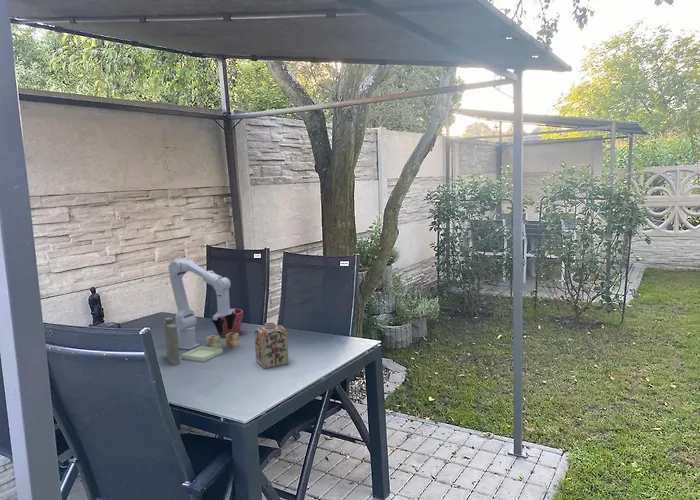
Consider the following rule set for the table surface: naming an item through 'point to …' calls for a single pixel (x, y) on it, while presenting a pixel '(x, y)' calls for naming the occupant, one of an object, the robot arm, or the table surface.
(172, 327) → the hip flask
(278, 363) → the decorative jar
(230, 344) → the oak block
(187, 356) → the tray
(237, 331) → the plant pot
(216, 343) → the birch block
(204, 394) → the table surface
